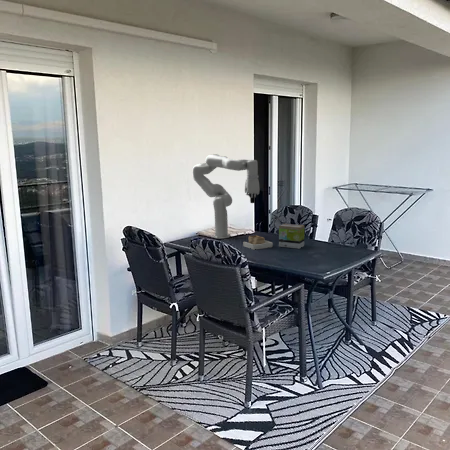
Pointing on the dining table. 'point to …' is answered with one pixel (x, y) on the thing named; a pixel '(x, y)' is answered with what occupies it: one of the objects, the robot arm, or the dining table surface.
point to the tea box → (291, 235)
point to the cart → (256, 240)
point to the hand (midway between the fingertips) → (252, 202)
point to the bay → (258, 245)
